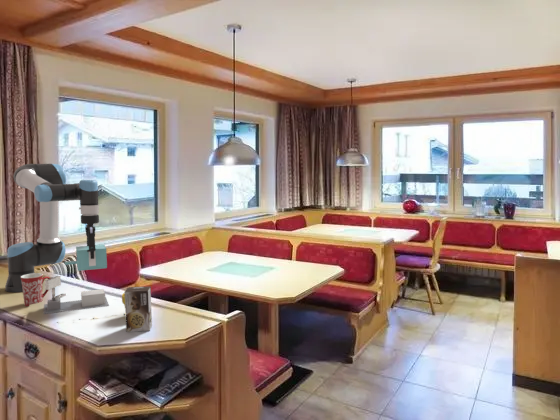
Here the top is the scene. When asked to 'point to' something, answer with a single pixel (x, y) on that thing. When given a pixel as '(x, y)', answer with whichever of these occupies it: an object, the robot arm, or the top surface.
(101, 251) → the cover
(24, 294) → the mug
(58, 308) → the housing
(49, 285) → the grey flat angled piece
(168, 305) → the top surface
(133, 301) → the cookie box
